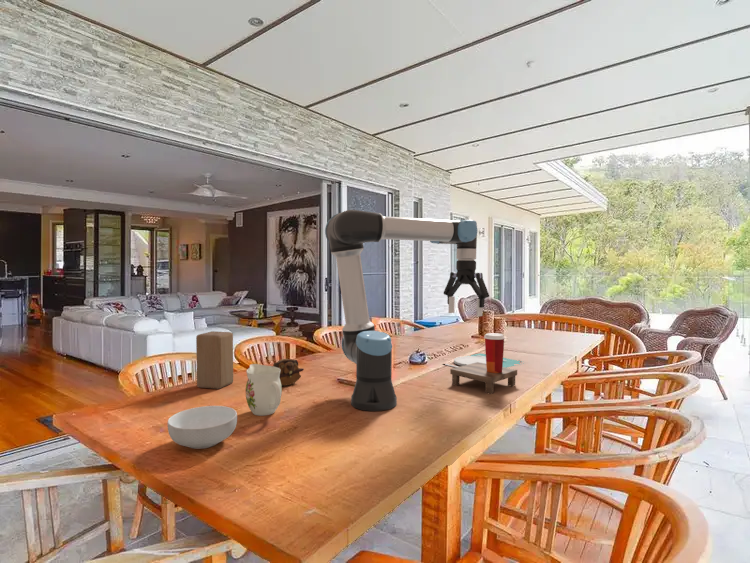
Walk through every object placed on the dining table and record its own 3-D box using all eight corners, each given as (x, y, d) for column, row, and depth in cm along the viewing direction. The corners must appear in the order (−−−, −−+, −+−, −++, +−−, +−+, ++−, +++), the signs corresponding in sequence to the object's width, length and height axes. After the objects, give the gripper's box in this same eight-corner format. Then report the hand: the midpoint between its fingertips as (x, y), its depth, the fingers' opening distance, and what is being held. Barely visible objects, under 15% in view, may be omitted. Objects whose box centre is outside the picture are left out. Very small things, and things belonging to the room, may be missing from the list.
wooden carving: (272, 391, 159) (272, 364, 159) (264, 389, 162) (264, 362, 162) (305, 381, 172) (305, 356, 172) (297, 380, 175) (297, 355, 175)
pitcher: (262, 425, 126) (262, 377, 125) (236, 409, 139) (236, 366, 139) (295, 416, 133) (295, 371, 132) (268, 402, 147) (267, 361, 146)
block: (195, 388, 163) (195, 334, 163) (211, 381, 173) (211, 330, 172) (219, 389, 161) (218, 335, 160) (234, 382, 171) (233, 331, 170)
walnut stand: (490, 394, 156) (490, 377, 156) (450, 384, 169) (450, 368, 169) (517, 385, 168) (517, 369, 168) (477, 376, 181) (477, 362, 181)
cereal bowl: (158, 442, 114) (157, 415, 113) (219, 426, 125) (219, 401, 125) (183, 463, 101) (183, 433, 101) (249, 443, 113) (248, 416, 113)
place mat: (470, 379, 180) (470, 374, 179) (418, 366, 203) (418, 361, 203) (531, 364, 208) (531, 359, 208) (479, 354, 231) (479, 349, 231)
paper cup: (504, 369, 168) (504, 333, 168) (505, 374, 161) (505, 336, 160) (483, 368, 170) (483, 332, 169) (483, 373, 162) (483, 335, 162)
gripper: (499, 260, 163) (498, 316, 164) (447, 260, 182) (446, 311, 183) (487, 259, 158) (486, 318, 159) (435, 259, 177) (434, 312, 178)
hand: (464, 314), depth 171 cm, fingers open, 13 cm apart
